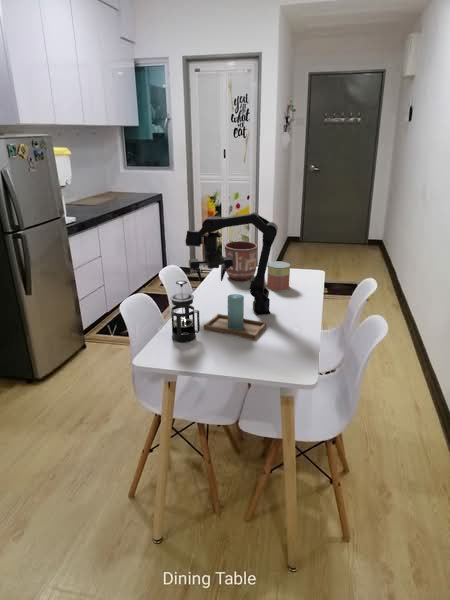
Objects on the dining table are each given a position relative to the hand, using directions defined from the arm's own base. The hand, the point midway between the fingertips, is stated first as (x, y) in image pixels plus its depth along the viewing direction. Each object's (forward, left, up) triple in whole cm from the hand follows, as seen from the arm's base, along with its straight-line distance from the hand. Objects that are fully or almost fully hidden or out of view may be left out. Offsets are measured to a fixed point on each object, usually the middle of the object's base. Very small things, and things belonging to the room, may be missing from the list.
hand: (211, 281), depth 191 cm
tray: (-6, +22, -13) cm, 26 cm away
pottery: (-23, -40, -13) cm, 48 cm away
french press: (+15, +26, -13) cm, 33 cm away
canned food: (-38, -21, -13) cm, 45 cm away
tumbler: (-6, +22, -12) cm, 26 cm away
